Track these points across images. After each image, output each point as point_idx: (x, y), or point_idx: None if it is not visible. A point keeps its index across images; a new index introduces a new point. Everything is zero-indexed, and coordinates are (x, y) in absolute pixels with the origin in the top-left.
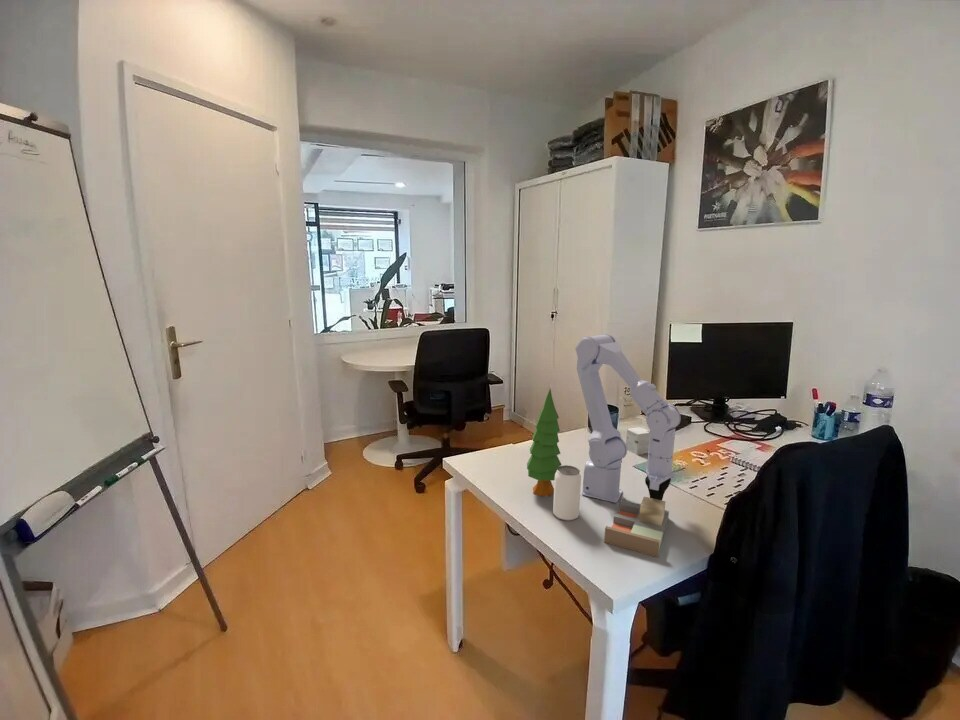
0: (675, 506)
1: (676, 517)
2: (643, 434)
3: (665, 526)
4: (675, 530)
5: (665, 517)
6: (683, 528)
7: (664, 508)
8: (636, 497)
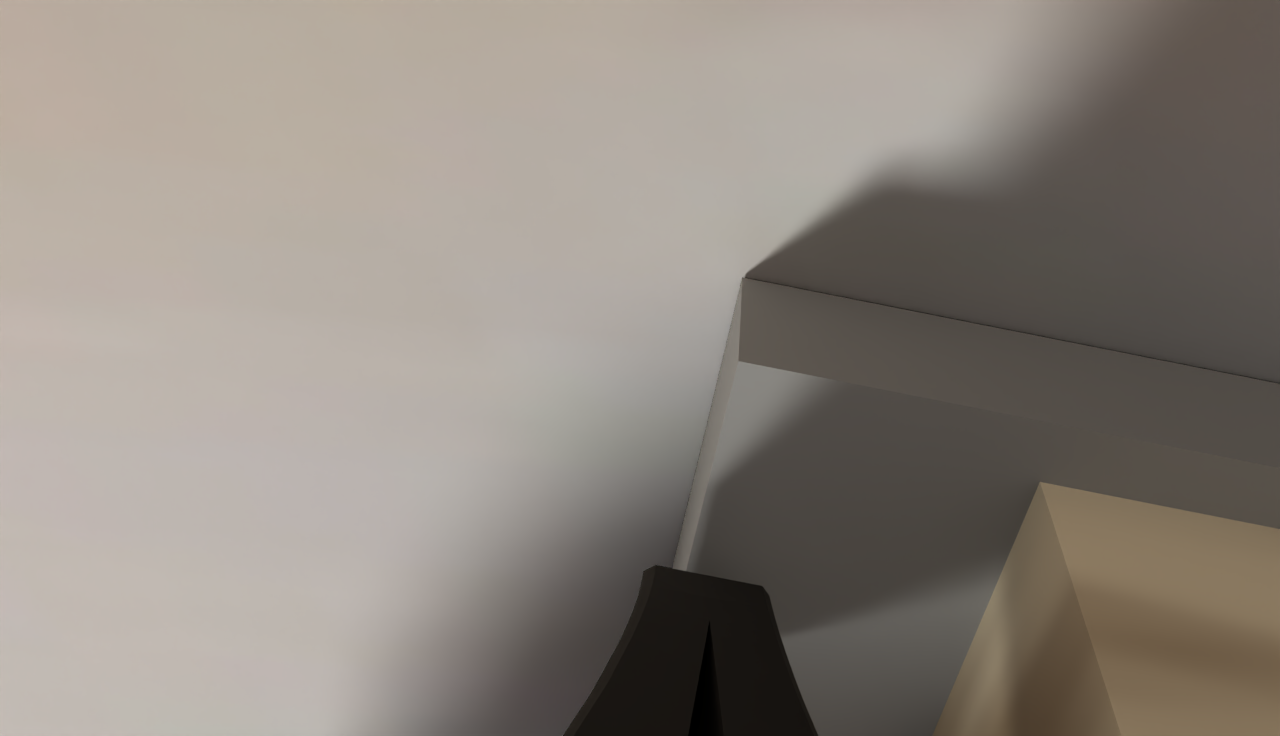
0: (123, 84)
1: (637, 113)
2: None
3: (1268, 417)
4: (1229, 189)
5: (1074, 458)
6: (1112, 13)
7: (1192, 666)
8: (153, 691)
